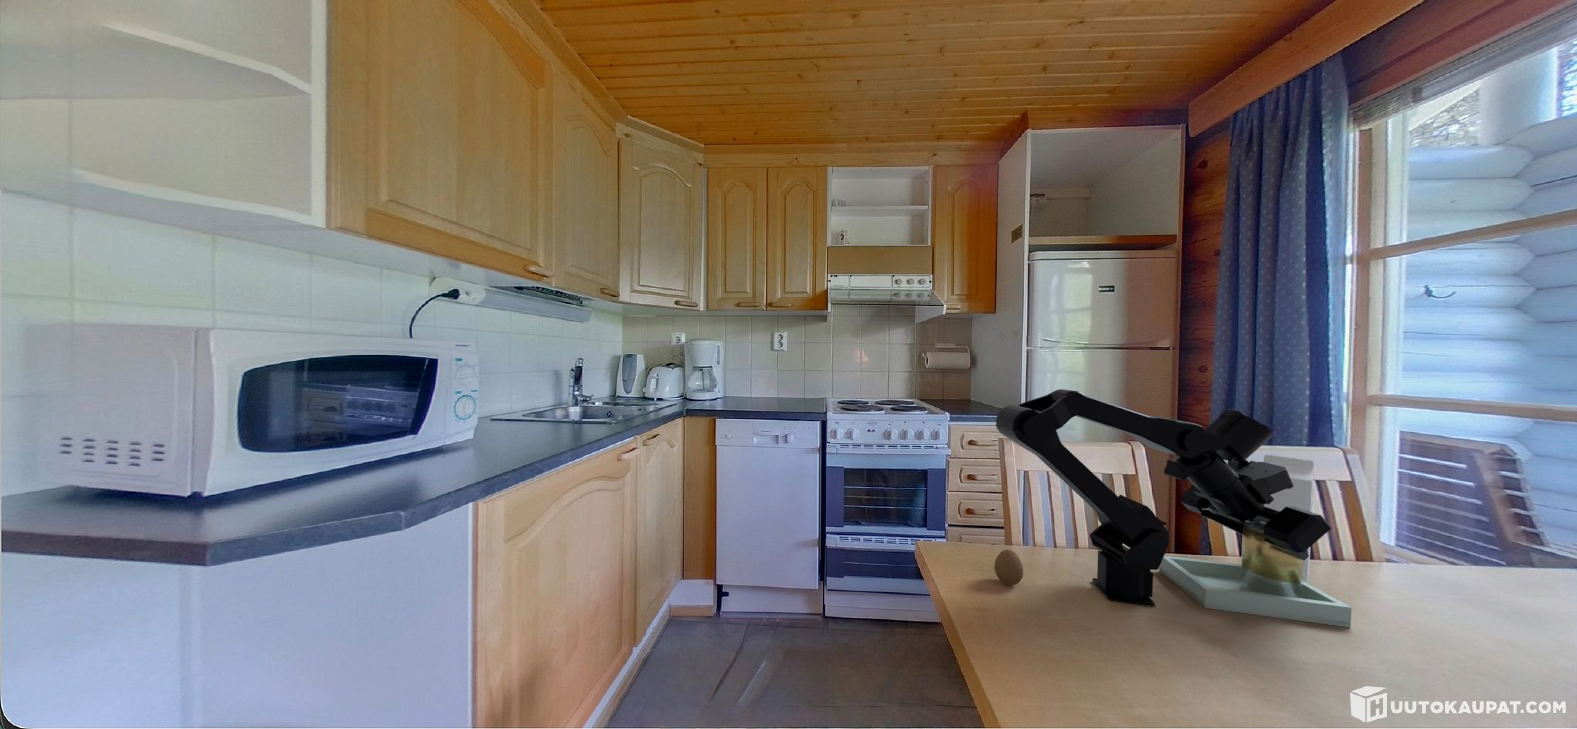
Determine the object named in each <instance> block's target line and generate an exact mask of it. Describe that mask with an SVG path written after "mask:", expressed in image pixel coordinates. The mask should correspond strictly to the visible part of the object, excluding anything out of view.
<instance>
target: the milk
mask: <svg viewBox="0 0 1577 729" xmlns="http://www.w3.org/2000/svg"><path fill="white" fill-rule="evenodd" d="M1263 462H1265V463H1270V464H1274V465H1278V466H1282V467H1285V468H1286V469H1287V472H1288V474H1289V476H1290V479H1291V481H1292V483H1293V487H1292V488H1290V489H1284V490H1282V491H1279V492H1277V493H1274V494H1271V496H1272V497H1273V498H1274V500H1273V501H1272V502H1271V503H1270V504H1264V506H1265V507H1268V508H1271V509H1274V510H1277V511H1281V510H1282V509H1284V508H1285V507H1296V508H1299V509H1302V510H1306V511H1309V512H1312V513H1313V498H1314V479H1315V478H1314V476H1315V475H1314V473H1315V472H1314V466H1315V465H1314V461H1313V460H1310V459H1303V458H1295V457H1287V456H1280V455H1274V454H1273V455H1272V454H1264V456H1263ZM1307 551H1308V555H1309V557H1308V558H1307V559H1305V560H1303V577H1302V581H1304V582H1305V583H1307V584H1309V579H1310V562H1311V561H1310V560H1311V547H1309V548H1308V549H1307Z"/></svg>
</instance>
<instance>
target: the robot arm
mask: <svg viewBox="0 0 1577 729" xmlns="http://www.w3.org/2000/svg"><path fill="white" fill-rule="evenodd" d="M1074 417H1077V418H1080V419H1083V420H1086V421H1090V422H1092V423H1095V424H1097V425H1102V426H1104V427H1106V428H1110V429H1113V430H1116V431H1120V432H1122V433H1125V434H1128V435H1129V436H1131V437H1132V438H1134V439H1135V440H1136V441H1137V442H1139V443H1142V444H1143V445H1145V446H1147V447H1149V448H1151V449H1153V450H1155V451H1159V452H1163V453H1166V454H1170V455H1174V456H1176V457H1175V458H1173V459H1167V460H1166V465H1165V466H1164V470H1163V474H1164V475H1167V476H1169V477H1172V478H1175V479H1178V480H1182V481H1185V480H1186V479H1188V481H1189V482H1190V483H1191V484H1192V485H1191V486H1190V487H1189V488H1188V489H1187V490H1185V491H1184V492H1183V493H1182V494H1181V495H1180V503H1181V504H1182V505H1183V506H1184V507H1185V508H1186V509H1187V510H1188V511H1191V512H1194V513H1197V514H1199V515H1201V516H1202V517H1203V518H1206V519H1209V520H1210V521H1212V522H1214V523H1216V524H1219V525H1221V526H1223V527H1225V528H1228V529H1230V530H1232V531H1234V532H1235V533H1238V534H1240V535H1242V536H1243V524H1244V522H1245V521H1247V522H1252V521H1253V520H1254V519H1256V520H1259V521H1262V522H1265V523H1266V524H1265V525H1264V530H1263V534H1264V535H1265V536H1266V537H1267V538H1266V539H1265V540H1264V541H1266V542H1268V543H1270V544H1271V545H1273V546H1275V547H1277V548H1279V549H1281V550H1283V551H1285V552H1287V553H1289V554H1291V555H1293V556H1295V557H1297V558H1299V559H1301V560H1305V559H1307V558H1308V557H1309V555H1308V551H1307V549H1308V548H1309V547H1310V548H1311V547H1312V546H1313V545H1314V544H1315V543H1317V542H1318V541H1319V540H1321V538H1322V537H1324V536H1325V535H1326V534H1327V533H1329V531H1331V529H1332V527H1331V524H1330V523H1329V522H1328V521H1327V520H1326V519H1325V518H1324V517H1323V516H1322V515H1321V514H1318V513H1315V512H1313V511H1312V512H1309V511H1306V510H1302V509H1299V508H1296V507H1285V508H1284V509H1282V510H1281V511H1277V510H1274V509H1271V508H1268V507H1265V506H1264V504H1270V503H1271V502H1272V501H1273V500H1274V498H1273V497H1272V496H1271V494H1274V493H1277V492H1279V491H1282V490H1284V489H1290V488H1292V487H1293V483H1292V481H1291V479H1290V476H1289V474H1288V472H1287V469H1286V468H1285V467H1282V466H1278V465H1274V464H1270V463H1265V462H1264V461H1255V460H1250V461H1249V460H1248V458H1249V457H1250V456H1252V455H1253V454H1254V453H1255V452H1256V451H1258V449H1259V448H1261V447H1262V446H1263V445H1264V444H1265V443H1266V442H1268V441H1269V440H1270V439H1271V438H1272V437H1273V431H1272V430H1271V429H1270V428H1269V427H1268V426H1267V425H1265V424H1262V423H1261V422H1259V421H1257V420H1256V419H1254V418H1252V417H1250V416H1247V415H1244V414H1243V413H1242V412H1241V411H1240V410H1239V409H1238V410H1236V409H1229V408H1226V409H1224V411H1223V412H1221V413H1220V415H1219V416H1218V417H1217V419H1216V420H1215V419H1214V421H1213V422H1212V423H1211V424H1209V426H1207V427H1206V428H1204V427H1203V426H1202V425H1200V424H1198V423H1195V422H1190V421H1183V420H1179V419H1172V418H1166V417H1160V416H1153V415H1146V414H1143V413H1140V412H1138V411H1134V410H1131V409H1128V408H1125V407H1122V406H1119V405H1116V404H1113V403H1109V402H1107V401H1103V400H1100V399H1098V398H1095V397H1092V396H1088V395H1086V394H1083V392H1080V391H1079V390H1078V391H1077V390H1070V389H1062V388H1059V389H1056V390H1054V391H1052V392H1049V393H1048V394H1047V393H1046V394H1045V395H1043V396H1040V397H1036V398H1033V399H1030V400H1027V401H1023V402H1022V403H1020V404H1018V405H1015V404H1013V405H1012V404H1011V405H1010V404H1009V405H1007V406H1004V407H1003V408H1002V409H999V412H998V413H997V415H996V419H995V420H996V421H995V427H996V429H997V430H998V431H999V433H1000V434H1001V435H1003V436H1004V437H1005V438H1007V439H1008V440H1010V441H1012V442H1013V443H1015V444H1017V445H1018V446H1019V447H1021V448H1023V449H1025V450H1027V451H1028V452H1030V453H1031V454H1033V455H1035V456H1036V457H1037V458H1039V460H1041V461H1042V462H1043V463H1044V465H1046V467H1048V468H1049V469H1050V470H1051V471H1052V472H1053V473H1055V475H1056V476H1058V478H1060V479H1061V480H1062V481H1063V482H1064V483H1065V484H1066V485H1067V486H1068V487H1069V488H1070V489H1071V490H1073V491H1074V493H1076V494H1077V495H1078V496H1079V497H1080V498H1081V499H1082V500H1083V501H1084V502H1085V503H1087V504H1088V506H1090V507H1091V508H1092V509H1093V510H1094V511H1095V513H1096V516H1097V520H1098V521H1099V523H1100V525H1099V526H1097V527H1096V528H1095V529H1094V530H1093V531H1092V532H1091V533H1090V534H1089V538H1090V542H1091V544H1092V546H1094V548H1097V549H1099V550H1097V573H1096V574H1097V575H1096V577H1092V580H1091V581H1092V582H1093V583H1094V585H1095V586H1096V587H1097V588H1098V589H1099V590H1100V591H1101V593H1102V594H1103V595H1104V596H1105V597H1106V598H1107V599H1108V600H1110V601H1114V602H1121V603H1125V604H1126V603H1127V604H1128V603H1129V604H1134V605H1135V604H1136V605H1141V606H1148V607H1155V606H1156V602H1155V601H1154V600H1153V599H1152V597H1153V595H1154V594H1153V592H1154V573H1153V572H1152V571H1158V570H1160V564H1161V562H1162V559H1163V557H1164V556H1166V552H1167V550H1168V548H1169V543H1170V538H1171V534H1170V532H1169V530H1168V529H1167V528H1166V527H1165V526H1166V525H1167V524H1168V523H1167V522H1165V521H1164V520H1161V519H1160V518H1158V517H1157V515H1155V513H1154V512H1153V511H1152V509H1150V507H1149V506H1148V505H1145V504H1143V503H1141V502H1140V501H1139V502H1138V501H1137V500H1133V499H1132V498H1130V497H1128V496H1125V495H1122V494H1119V495H1117V494H1116V493H1115V492H1114V491H1113V490H1112V489H1110V487H1109V486H1107V484H1105V483H1104V482H1103V481H1102V480H1101V479H1100V478H1099V477H1098V476H1097V475H1096V474H1095V473H1094V472H1092V471H1091V470H1090V468H1088V467H1087V466H1086V465H1085V464H1084V463H1083V462H1082V461H1080V459H1078V457H1077V456H1075V455H1074V454H1073V453H1072V451H1070V450H1069V449H1068V448H1067V447H1066V446H1065V445H1064V444H1063V443H1062V441H1061V439H1060V435H1059V434H1058V430H1059V429H1061V428H1063V427H1064V426H1065V425H1066V424H1067V423H1068V422H1069V421H1070V420H1072V419H1073V418H1074ZM1226 461H1227V462H1226Z"/></svg>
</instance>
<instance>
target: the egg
mask: <svg viewBox="0 0 1577 729" xmlns="http://www.w3.org/2000/svg"><path fill="white" fill-rule="evenodd" d="M994 561H995V562H994V567H993V568H994V573H995V574H996V577H997V578H998V580H1000V582H1001V583H1002V584H1004V585H1007V586H1016V585H1018V584H1019V583H1020V582H1021V581H1022V579H1023V577H1024V566H1023V563H1022V561H1021V559H1020V557H1019V555H1018V554H1017V553H1016V552H1015V551H1014V550H1012V549H1009V548H1008V549H1003V550H1002V551H1000V552H999V553H998V555H997V556H996V558H995V560H994Z"/></svg>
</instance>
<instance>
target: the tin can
mask: <svg viewBox="0 0 1577 729" xmlns="http://www.w3.org/2000/svg"><path fill="white" fill-rule="evenodd" d="M1265 524H1266V523H1265V522H1262V521H1259V520H1256V519H1254V520H1253V521H1252V522H1247V521H1245V522H1244V524H1243V535H1242V540H1241V544H1242V545H1241V561H1240V562H1241V563H1240V564H1241V581H1242V582H1243V583H1245V584H1246V585H1248V586H1250V587H1252V588H1254V589H1256V590H1259V591H1262V592H1265V593H1268V594H1271V595H1277V596H1285V597H1293V598H1300V597H1301V586H1302V577H1303V560H1301V559H1299V558H1297V557H1295V556H1293V555H1291V554H1289V553H1287V552H1285V551H1283V550H1281V549H1279V548H1277V547H1275V546H1273V545H1271V544H1270V543H1268V542H1266V541H1264V540H1265V539H1266V538H1267V537H1266V536H1265V535H1264V534H1263V530H1264V525H1265Z"/></svg>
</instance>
